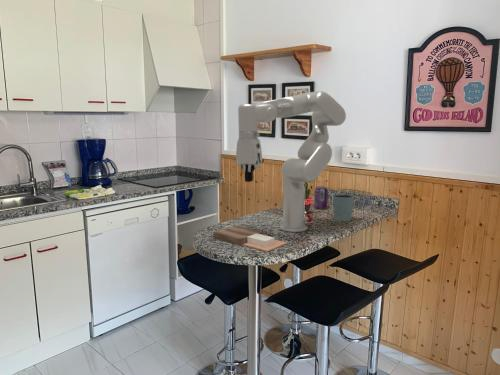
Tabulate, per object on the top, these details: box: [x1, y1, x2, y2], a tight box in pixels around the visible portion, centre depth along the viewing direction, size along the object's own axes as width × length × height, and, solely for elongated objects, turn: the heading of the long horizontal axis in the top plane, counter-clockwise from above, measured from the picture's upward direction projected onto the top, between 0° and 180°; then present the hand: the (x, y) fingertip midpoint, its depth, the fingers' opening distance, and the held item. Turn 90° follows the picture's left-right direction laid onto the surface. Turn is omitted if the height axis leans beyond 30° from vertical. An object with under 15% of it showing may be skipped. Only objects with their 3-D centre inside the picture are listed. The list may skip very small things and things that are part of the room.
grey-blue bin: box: [332, 193, 355, 222], centre depth 193 cm, size 10×10×12 cm
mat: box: [242, 239, 288, 253], centre depth 154 cm, size 13×12×1 cm
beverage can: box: [313, 185, 329, 210], centre depth 217 cm, size 7×7×12 cm
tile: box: [247, 234, 276, 247], centre depth 154 cm, size 6×9×2 cm, turn 50°
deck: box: [212, 225, 264, 246], centre depth 162 cm, size 14×15×2 cm
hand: (248, 181), depth 159 cm, fingers closed
